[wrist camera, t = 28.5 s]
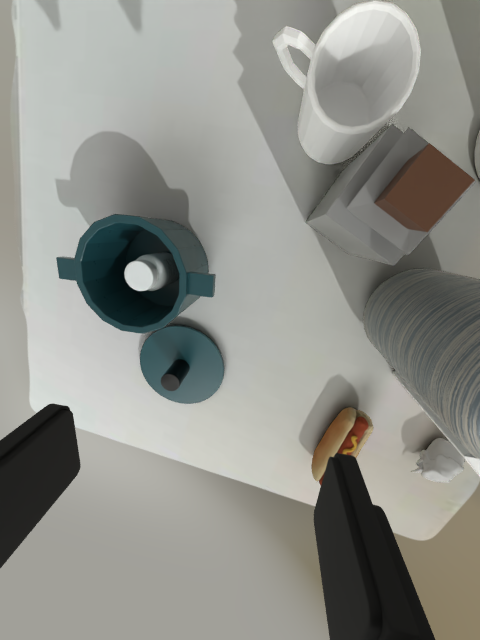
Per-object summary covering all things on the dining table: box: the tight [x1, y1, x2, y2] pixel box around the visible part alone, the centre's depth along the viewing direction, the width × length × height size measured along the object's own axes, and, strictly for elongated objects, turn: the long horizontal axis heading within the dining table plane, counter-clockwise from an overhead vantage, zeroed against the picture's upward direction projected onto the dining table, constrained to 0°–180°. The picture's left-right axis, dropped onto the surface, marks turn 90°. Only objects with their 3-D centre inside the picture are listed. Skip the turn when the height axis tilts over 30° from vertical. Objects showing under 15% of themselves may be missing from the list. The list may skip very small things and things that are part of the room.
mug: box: [272, 0, 421, 165], centre depth 24 cm, size 8×12×10 cm
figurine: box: [411, 438, 465, 482], centre depth 38 cm, size 4×8×5 cm, turn 141°
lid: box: [140, 325, 224, 404], centre depth 38 cm, size 14×14×6 cm
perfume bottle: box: [306, 124, 476, 266], centre depth 23 cm, size 7×7×18 cm
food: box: [312, 407, 373, 485], centre depth 39 cm, size 14×6×5 cm, turn 162°
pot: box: [57, 214, 215, 333], centre depth 32 cm, size 13×18×10 cm
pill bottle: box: [124, 252, 179, 291], centre depth 32 cm, size 4×4×8 cm
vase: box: [363, 268, 480, 460], centre depth 23 cm, size 12×12×23 cm
